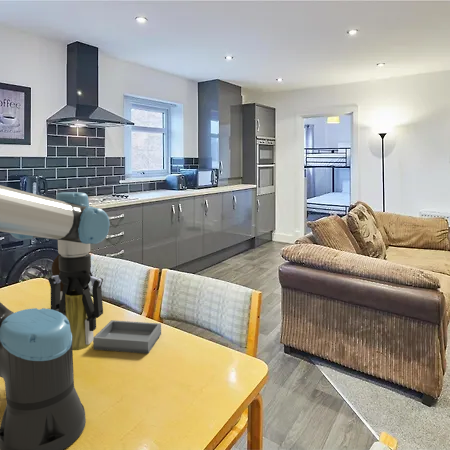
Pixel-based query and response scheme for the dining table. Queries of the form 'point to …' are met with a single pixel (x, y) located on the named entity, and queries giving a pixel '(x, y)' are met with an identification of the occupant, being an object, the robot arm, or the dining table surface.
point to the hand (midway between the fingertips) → (78, 340)
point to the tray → (127, 336)
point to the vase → (76, 319)
